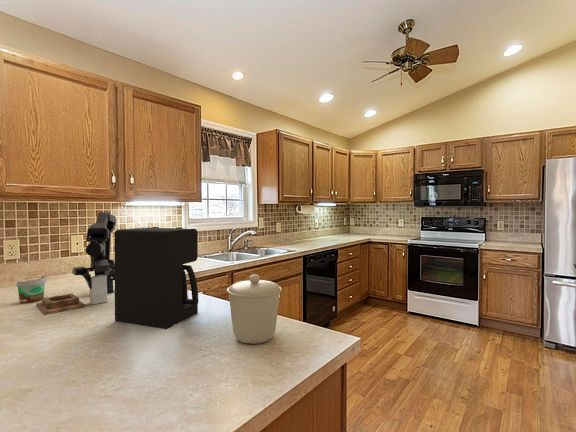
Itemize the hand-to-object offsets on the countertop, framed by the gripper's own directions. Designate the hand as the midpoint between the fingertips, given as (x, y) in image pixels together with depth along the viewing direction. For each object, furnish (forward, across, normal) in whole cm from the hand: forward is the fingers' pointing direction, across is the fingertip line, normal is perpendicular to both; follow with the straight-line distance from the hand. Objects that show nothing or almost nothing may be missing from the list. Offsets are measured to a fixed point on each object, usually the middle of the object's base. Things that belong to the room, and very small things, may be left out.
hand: (98, 287), depth 142 cm
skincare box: (+7, 0, 0) cm, 7 cm away
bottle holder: (+7, -13, +6) cm, 16 cm away
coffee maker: (+7, +11, -40) cm, 42 cm away
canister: (+7, +23, -81) cm, 85 cm away
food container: (+7, -19, +24) cm, 31 cm away
